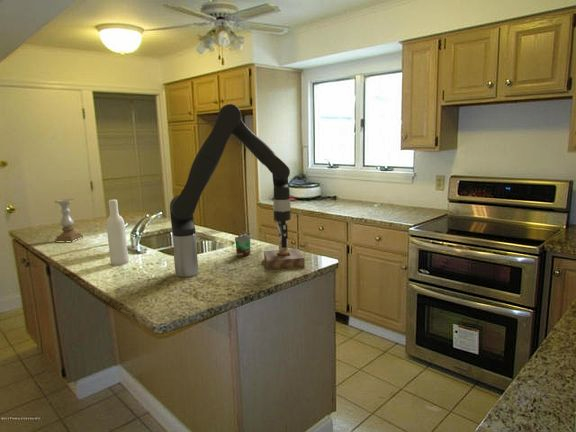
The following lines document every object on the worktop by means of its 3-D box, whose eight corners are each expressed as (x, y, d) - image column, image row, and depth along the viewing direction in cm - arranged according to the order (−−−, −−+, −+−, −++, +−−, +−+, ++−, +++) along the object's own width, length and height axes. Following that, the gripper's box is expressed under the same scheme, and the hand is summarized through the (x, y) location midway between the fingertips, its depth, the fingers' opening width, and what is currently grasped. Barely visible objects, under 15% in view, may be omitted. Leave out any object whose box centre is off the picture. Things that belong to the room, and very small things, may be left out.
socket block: (267, 269, 177) (267, 260, 177) (264, 259, 193) (264, 251, 192) (304, 266, 180) (304, 258, 179) (298, 256, 195) (297, 248, 195)
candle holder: (67, 237, 251) (61, 198, 246) (83, 238, 249) (78, 198, 245) (54, 242, 240) (49, 201, 236) (72, 242, 238) (66, 201, 234)
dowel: (279, 264, 184) (278, 238, 182) (278, 261, 188) (277, 236, 186) (289, 263, 185) (288, 237, 183) (287, 261, 189) (286, 235, 187)
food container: (248, 258, 196) (247, 237, 194) (235, 257, 197) (234, 237, 195) (255, 251, 208) (254, 231, 206) (243, 250, 209) (242, 231, 207)
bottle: (107, 263, 194) (100, 200, 188) (124, 259, 200) (117, 198, 194) (115, 266, 189) (108, 201, 183) (131, 262, 194) (125, 199, 189)
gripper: (271, 207, 188) (272, 241, 191) (275, 212, 174) (276, 249, 177) (288, 206, 189) (288, 240, 192) (293, 211, 175) (293, 248, 178)
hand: (282, 245), depth 185 cm, fingers open, 8 cm apart
